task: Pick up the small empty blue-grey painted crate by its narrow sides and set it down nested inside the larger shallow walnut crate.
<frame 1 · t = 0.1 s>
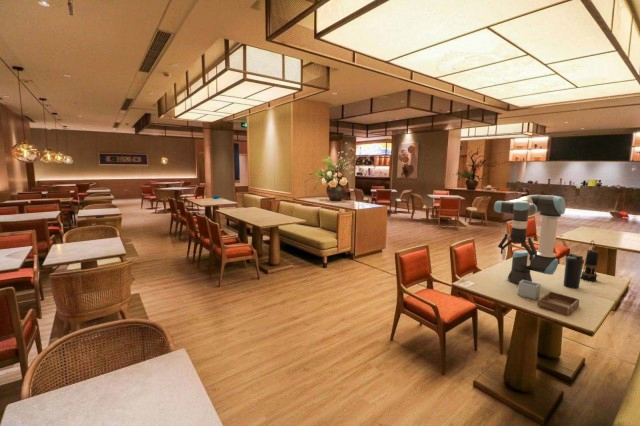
hand: (515, 262, 186), 28 cm above the table, fingers open, 13 cm apart
water bottle: (570, 286, 221), on the table
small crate: (528, 296, 205), on the table
lantern: (588, 279, 234), on the table
walnut crate: (558, 306, 190), on the table
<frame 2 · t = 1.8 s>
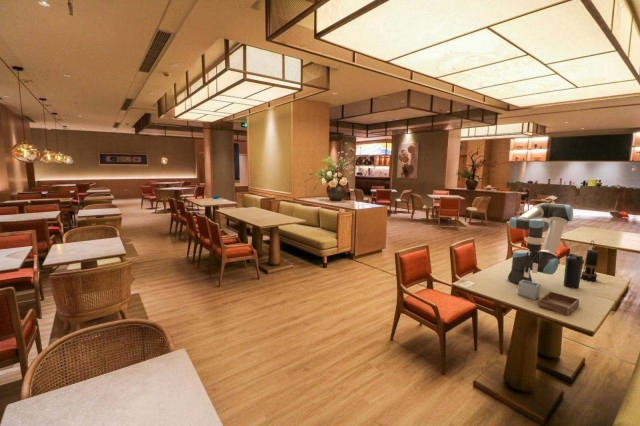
hand: (530, 274, 202), 15 cm above the table, fingers open, 13 cm apart
nothing on the table moved.
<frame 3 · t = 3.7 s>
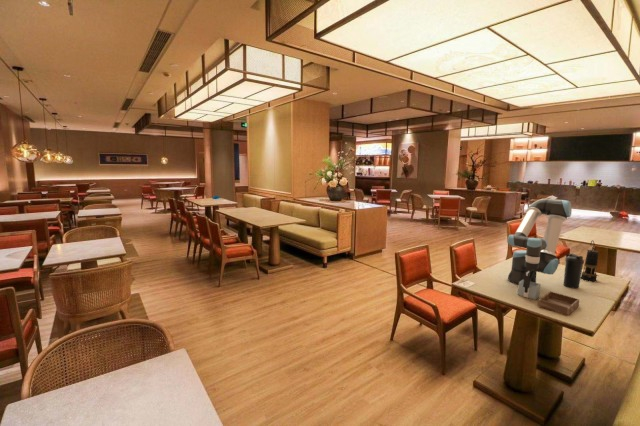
hand: (528, 295, 205), 0 cm above the table, fingers closed on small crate, 7 cm apart
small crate: (528, 296, 205), on the table, touching gripper
everything else where it was.
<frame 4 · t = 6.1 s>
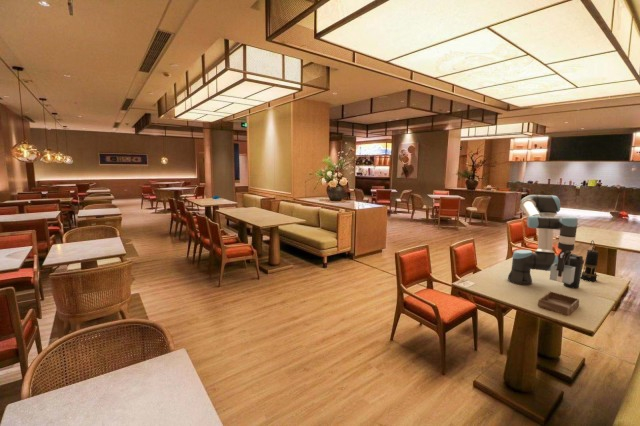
hand: (561, 279, 188), 17 cm above the table, fingers closed on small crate, 7 cm apart
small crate: (561, 280, 188), point 17 cm above the table, touching gripper
everything else where it was.
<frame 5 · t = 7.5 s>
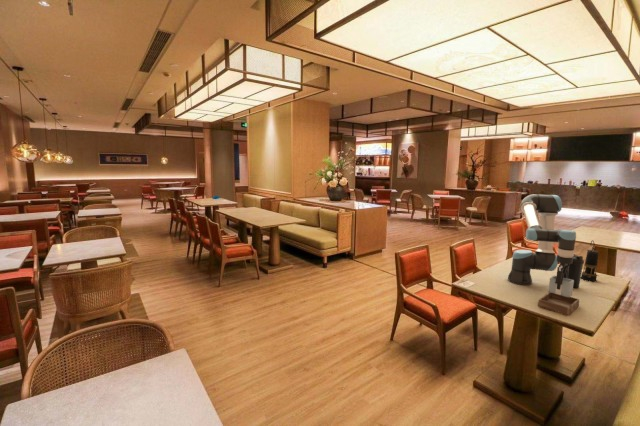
hand: (560, 292, 189), 9 cm above the table, fingers closed on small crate, 7 cm apart
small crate: (560, 293, 189), point 9 cm above the table, touching gripper
everything else where it was.
when the fingers open (4 cm above the table, at t = 8.9 s): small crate drops 3 cm, resting on walnut crate.
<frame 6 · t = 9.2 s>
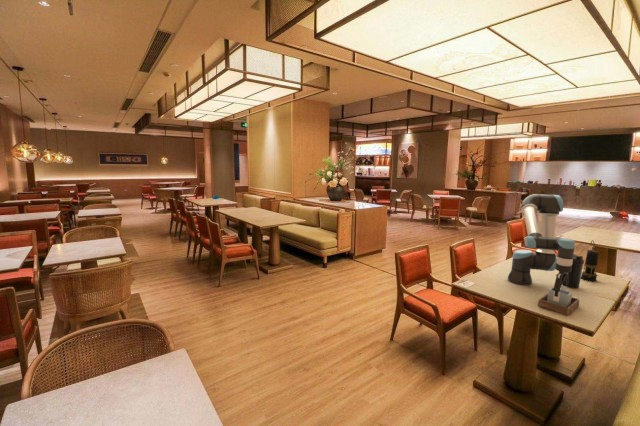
hand: (559, 298, 190), 5 cm above the table, fingers open, 11 cm apart
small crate: (558, 305, 190), point 1 cm above the table, touching walnut crate
everything else where it was.
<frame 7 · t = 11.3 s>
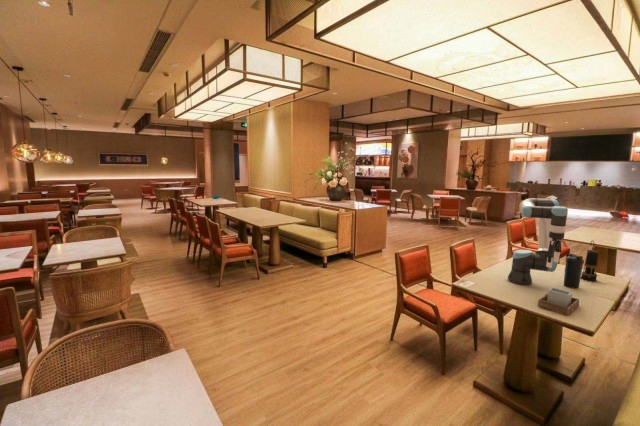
hand: (552, 264, 195), 24 cm above the table, fingers open, 13 cm apart
nothing on the table moved.
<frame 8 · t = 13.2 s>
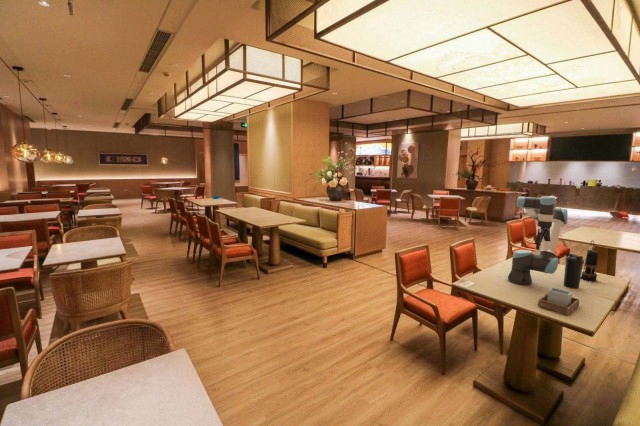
hand: (541, 252, 203), 29 cm above the table, fingers open, 13 cm apart
nothing on the table moved.
at the end: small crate inside the target area on the walnut crate (0.1 cm from its centre), point 0.8 cm above the walnut crate's base; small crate tilted 0°; the gripper is holding nothing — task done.
